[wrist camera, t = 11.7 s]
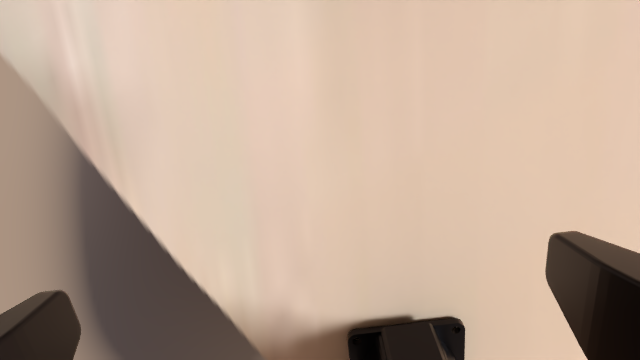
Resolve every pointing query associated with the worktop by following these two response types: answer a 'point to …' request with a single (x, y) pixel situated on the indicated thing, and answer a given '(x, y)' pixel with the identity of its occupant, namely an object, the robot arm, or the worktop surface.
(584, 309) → the robot arm
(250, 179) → the worktop surface
